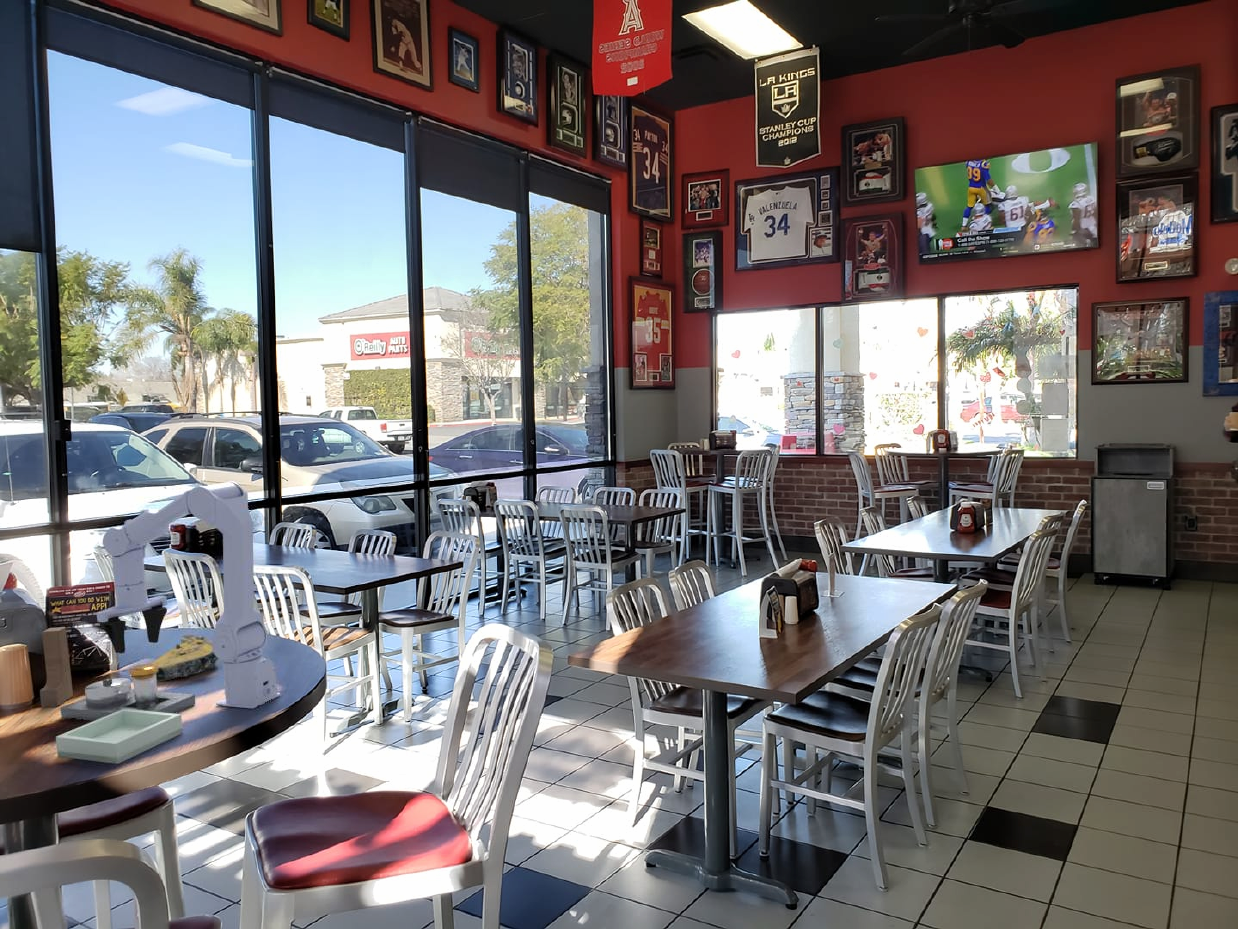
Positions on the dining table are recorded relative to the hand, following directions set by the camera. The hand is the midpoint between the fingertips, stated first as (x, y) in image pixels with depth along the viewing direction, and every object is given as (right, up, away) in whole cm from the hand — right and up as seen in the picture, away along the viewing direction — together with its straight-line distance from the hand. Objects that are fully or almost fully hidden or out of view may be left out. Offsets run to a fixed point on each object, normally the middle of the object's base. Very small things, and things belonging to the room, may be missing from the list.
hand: (137, 647), depth 191 cm
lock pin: (+8, -11, -11) cm, 17 cm away
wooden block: (-16, -11, -1) cm, 19 cm away
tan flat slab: (+2, -9, +21) cm, 23 cm away
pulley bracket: (+3, -11, -9) cm, 15 cm away
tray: (+12, -12, -27) cm, 32 cm away
